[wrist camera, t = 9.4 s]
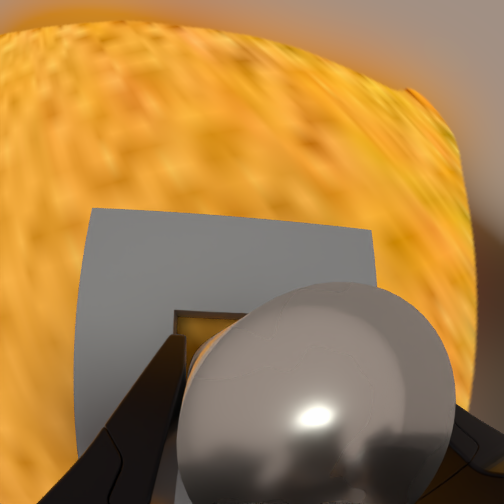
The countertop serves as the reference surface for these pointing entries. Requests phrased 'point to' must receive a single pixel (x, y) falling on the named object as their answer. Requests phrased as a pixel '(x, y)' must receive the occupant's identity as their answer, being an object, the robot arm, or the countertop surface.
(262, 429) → the peg
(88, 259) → the socket block
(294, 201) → the countertop surface
